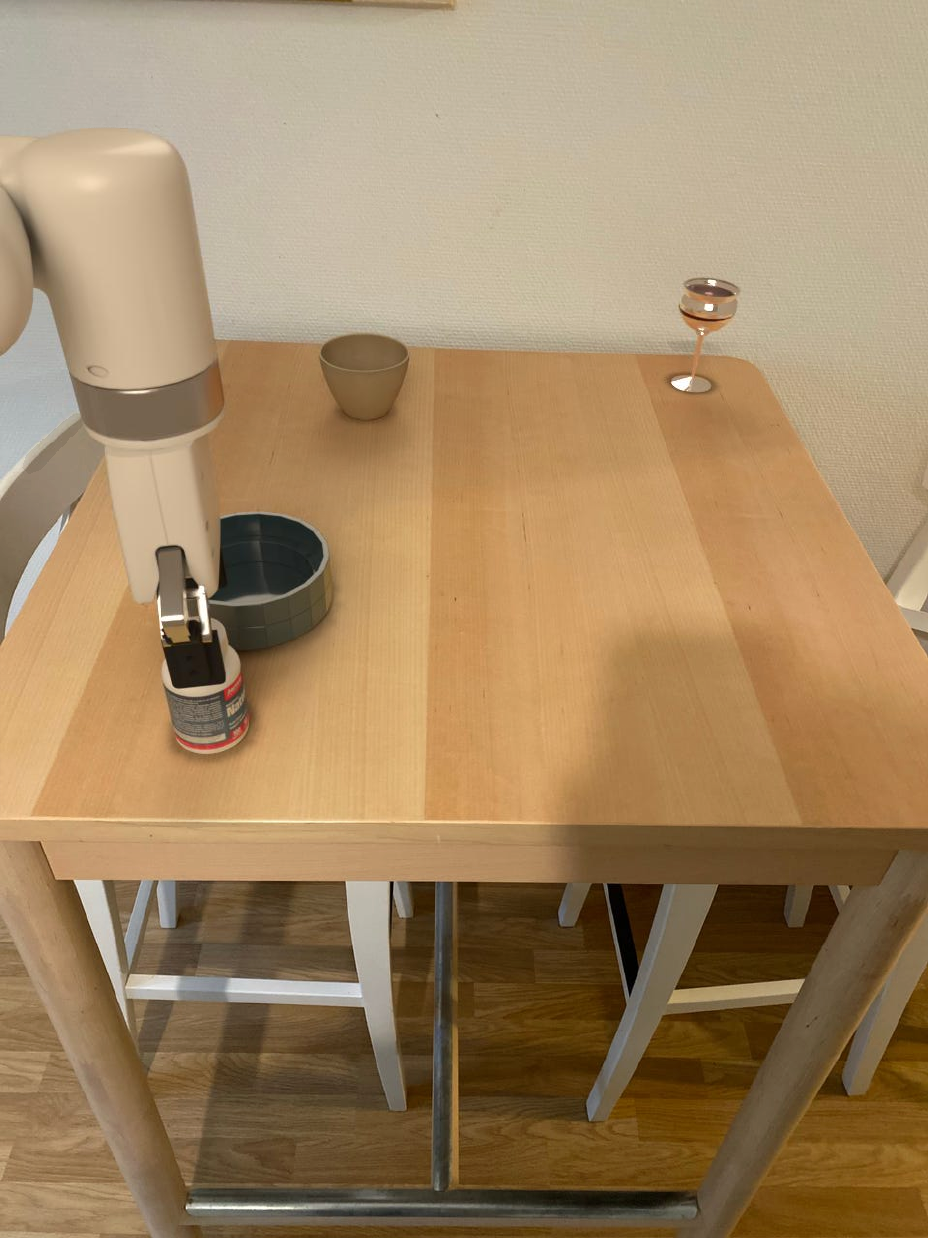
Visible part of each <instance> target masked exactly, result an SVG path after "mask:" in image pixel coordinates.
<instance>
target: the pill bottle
mask: <svg viewBox="0 0 928 1238" xmlns="http://www.w3.org/2000/svg"><path fill="white" fill-rule="evenodd" d="M189 620H196V621H198V622H199V616H195V617H189ZM211 627H212V630H217V631H218V636H219V641H220V646H221V651H222V656H223V661H224V666H225V671H226V681H225V682H224V683H223V684H219V685H210V686H201V687H192V688H183V689H177V688H174V687H173V685H172V682H171V678H170V674H169V670H168V667H167V663H166V659H165V658H164V659H163V661H162V664H161V673H160V675H161V682H162V686H163V689H164V693H165V698H166V702H167V706H168V711H169V716H170V720H171V726H172V730H173V734H174V737H175V740H176V741H177V743H178V744H179V745H180V746H181V747H182V748H183V749H185V750H187V751H188V752H191V753H195V754H199V755H212V754H218V753H222V752H225V751H228V750H230V749H231V748H233V747H235V746H237V745H238V744H239V743H241V741H242V740H243V739H244V737H245V736H246V734H247V733H248V731H249V727H250V715H249V714H250V713H249V709H248V702H247V698H246V697H247V695H246V689H245V683H244V678H243V677H244V676H243V671H242V664H241V659H240V656H239V655H238V653H237V651H236V649H233V648H232V647H231V646H229V645H228V640H227V635H226V631H225V628H224V626H223V625H222V624H221V623H220V622H219V621H217V620H215V619H213V618H211Z"/></svg>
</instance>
